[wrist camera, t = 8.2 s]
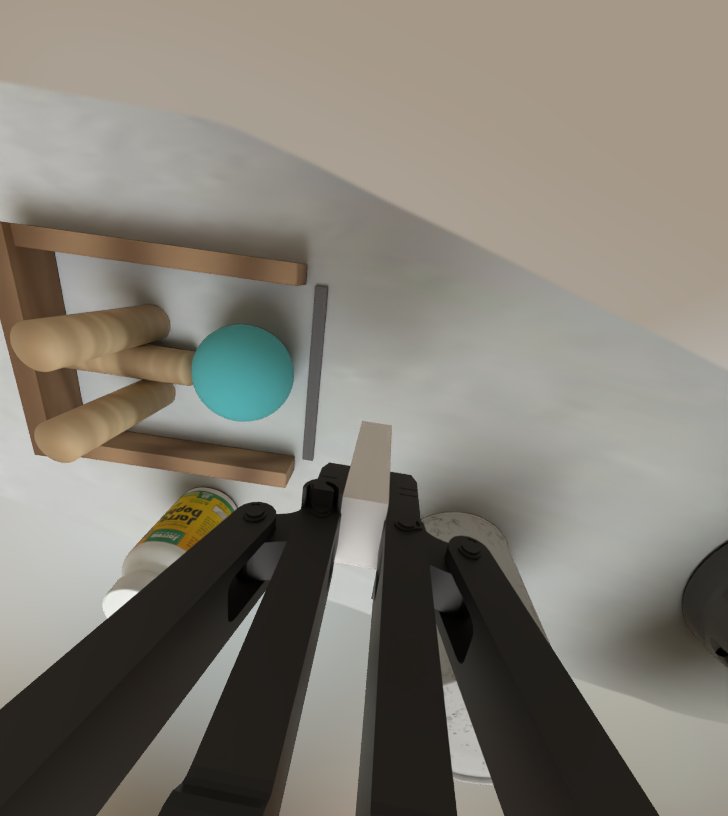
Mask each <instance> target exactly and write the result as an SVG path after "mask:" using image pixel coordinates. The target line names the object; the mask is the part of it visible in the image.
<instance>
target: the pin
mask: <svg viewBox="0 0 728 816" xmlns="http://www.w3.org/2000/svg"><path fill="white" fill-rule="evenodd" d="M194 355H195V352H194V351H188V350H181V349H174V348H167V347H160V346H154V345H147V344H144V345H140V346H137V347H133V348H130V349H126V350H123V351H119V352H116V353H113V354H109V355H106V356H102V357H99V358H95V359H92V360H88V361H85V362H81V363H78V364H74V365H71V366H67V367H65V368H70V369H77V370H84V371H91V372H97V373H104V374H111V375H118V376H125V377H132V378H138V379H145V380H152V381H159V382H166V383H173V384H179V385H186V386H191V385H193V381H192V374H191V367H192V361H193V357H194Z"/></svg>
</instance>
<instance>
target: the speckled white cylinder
mask: <svg viewBox="0 0 728 816" xmlns="http://www.w3.org/2000/svg"><path fill="white" fill-rule="evenodd" d="M421 521H422V522H423V523H424V526H425V528H426V531H427V532H428V533H429V534H431V535H432V536H434V537H436V538H438V539H440V540H443V541H445V542H448V543H449V541H450V539H452V538H453V537H454V536H468V537H471V538H474V539H476V540H478V541H479V542H481V543H482V544H484V545H485V546H486V547H487V548H488V550H489V551H490V552H491V554H492V556H493V557H494V559H495V560H496V562H497V563H498V565H499V566H500V568H501V570H502V571H503V573H504V574H505V576H506V577H507V579H508V580H509V582H510V584H511V585H512V587H513V588H514V590H515V591H516V593H517V594H518V596H519V598H520V599H521V601H522V602H523V604H524V605H525V607H526V609H527V610H528V612H529V613H530V615H531V616H532V618H533V619H534V621H535V623H536V624H537V626H538V627H539V629H540V630H541V632H542V633H543V635H544V637H545V638H546V640H547V641H548V638H547V636H546V634H545V631H544V629H543V627H542V625H541V622H540V620H539V618H538V615H537V613H536V611H535V608H534V606H533V604H532V602H531V599H530V597H529V595H528V592H527V590H526V588H525V586H524V583H523V581H522V579H521V576H520V574H519V572H518V569H517V567H516V565H515V563H514V560H513V558H512V556H511V553H510V551H509V548H508V544H507V541H506V540H505V538H504V536H503V535H502V533H501V532H500V531H499V530H498V529H497V528H496V527H495V526H494V525H493V524H492V523H490V522H488V521H487V520H485V519H483V518H481V517H478V516H475V515H472V514H469V513H461V512H444V513H439V514H435V515H431V516H428V517H426V518H424V519H422V520H421ZM436 628H437V625H436ZM437 637H438V646H439V655H440V664H441V673H442V682H443V691H444V700H445V709H446V718H447V727H448V737H449V746H450V755H451V764H452V773H453V779H454V780H458V781H461V782H468V783H474V784H486V785H487V784H488V785H493V782H492V779H491V777H490V774H489V771H488V768H487V765H486V763H485V760H484V757H483V754H482V751H481V748H480V746H479V743H478V740H477V737H476V734H475V732H474V729H473V726H472V723H471V720H470V718H469V715H468V712H467V709H466V706H465V704H464V701H463V698H462V695H461V692H460V690H459V687H458V684H457V681H456V678H455V676H454V673H453V670H452V667H451V664H450V662H449V659H448V656H447V653H446V650H445V647H444V645H443V642H442V639H441V636H440V633H439V631H438V628H437ZM548 643H549V641H548ZM549 644H550V643H549ZM550 646H551V645H550Z"/></svg>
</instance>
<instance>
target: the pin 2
mask: <svg viewBox="0 0 728 816" xmlns="http://www.w3.org/2000/svg"><path fill="white" fill-rule="evenodd" d="M174 399H175V389H174V387H173V385H172V383H166V382H159V381H152V380H145V379H143V380H140V381H138V382H136V383H133V384H131V385H128V386H126V387H124V388H121V389H119V390H117V391H114V392H112V393H110V394H107V395H105V396H103V397H100V398H98V399H96V400H93V401H91V402H89V403H86V404H84V405H82V406H79V407H77V408H75V409H72V410H70V411H68V412H65V413H63V414H61V415H58V416H56V417H54V418H51V419H49V420H47V421H44V422H42V423H40V424H39V425H38V426H37V427H36V429H35V432H34V437H35V441H36V444H37V446H38V447H39V449H40V450H41V451H42V452H43V453H44V454H45V455H46V456H48V457H49V458H51V459H53V460H55V461H58V462H62V463H69V462H73V461H75V460H76V459H78V458H80V457H82V456H83V455H85V454H87V453H88V452H90V451H92V450H93V449H95V448H97V447H98V446H100V445H102V444H103V443H105V442H107V441H108V440H110V439H112V438H114V437H115V436H117V435H119V434H120V433H122V432H124V431H125V430H127V429H129V428H130V427H132V426H134V425H135V424H137V423H139V422H140V421H142V420H144V419H146V418H147V417H149V416H151V415H152V414H154V413H156V412H157V411H159V410H161V409H162V408H164V407H166V406H167V405H169V404H171V403H172V402H173V401H174Z"/></svg>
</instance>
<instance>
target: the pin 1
mask: <svg viewBox="0 0 728 816" xmlns="http://www.w3.org/2000/svg"><path fill="white" fill-rule="evenodd" d="M169 331H170V322H169V319H168V317H167V315H166V314H165V312H164V311H163V310H162V309H160V308H159V307H157V306H154V305H141V306H134V307H126V308H118V309H110V310H102V311H94V312H86V313H78V314H70V315H63V316H55V317H47V318H39V319H31V320H23V321H20V322H18V323H16V324H15V325H14V326H13V327H12V329H11V332H10V342H11V345H12V348H13V350H14V352H15V354H16V355H17V357H18V358H19V359H20V360H21V361H22V362H23V363H24V364H25V365H27V366H28V367H30V368H32V369H34V370H37V371H41V372H50V371H53V370H57V369H60V368H64V367H67V366H71V365H74V364H78V363H81V362H85V361H88V360H92V359H95V358H99V357H102V356H106V355H109V354H113V353H116V352H119V351H123V350H126V349H130V348H133V347H137V346H140V345H144V344H147V343H151V342H154V341H158V340H161V339H164V338H165V337H166V336H167V335H168V334H169Z"/></svg>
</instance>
